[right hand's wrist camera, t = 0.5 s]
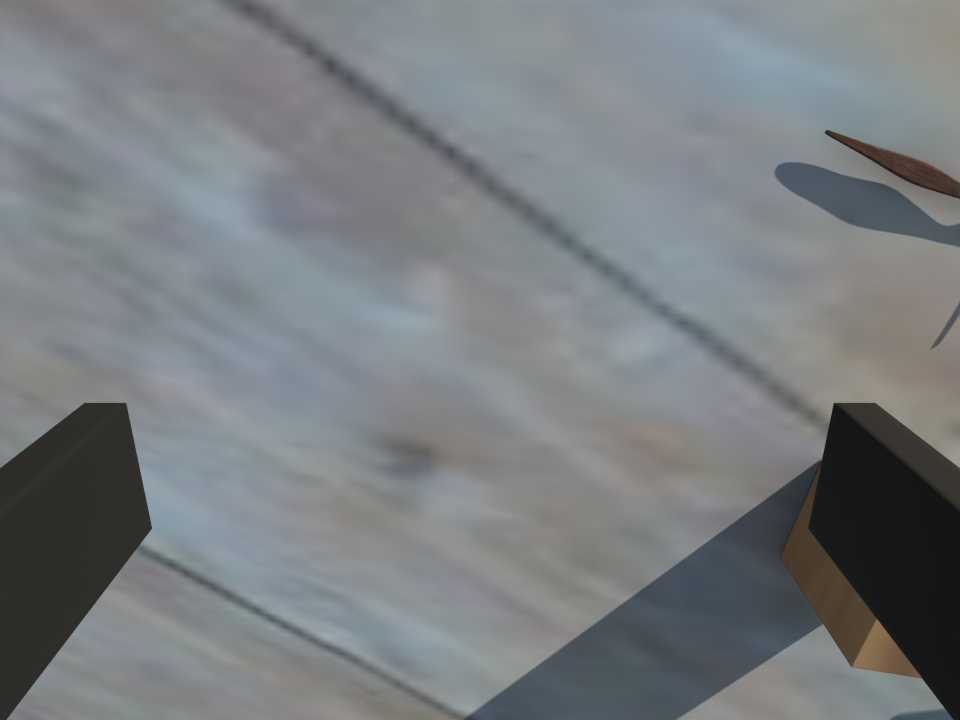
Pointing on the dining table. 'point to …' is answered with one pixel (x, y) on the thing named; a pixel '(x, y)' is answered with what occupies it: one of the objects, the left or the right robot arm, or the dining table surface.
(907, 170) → the fork
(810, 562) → the brown block
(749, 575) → the dining table surface
